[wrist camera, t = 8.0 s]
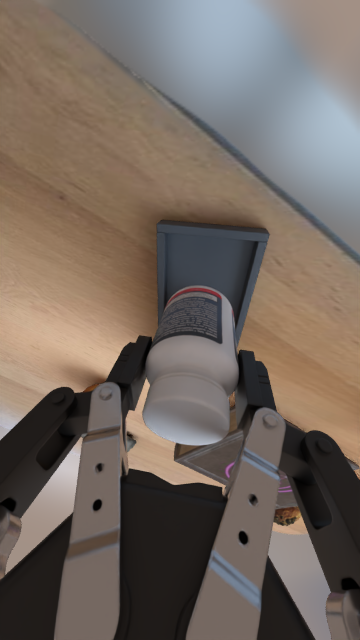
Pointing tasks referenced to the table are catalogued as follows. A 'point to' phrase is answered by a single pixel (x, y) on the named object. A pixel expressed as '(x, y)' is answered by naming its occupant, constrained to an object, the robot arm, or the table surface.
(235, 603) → the robot arm
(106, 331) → the table surface
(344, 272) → the table surface
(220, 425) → the pill bottle
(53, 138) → the table surface
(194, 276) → the tray
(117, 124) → the table surface
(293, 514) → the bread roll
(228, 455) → the book
